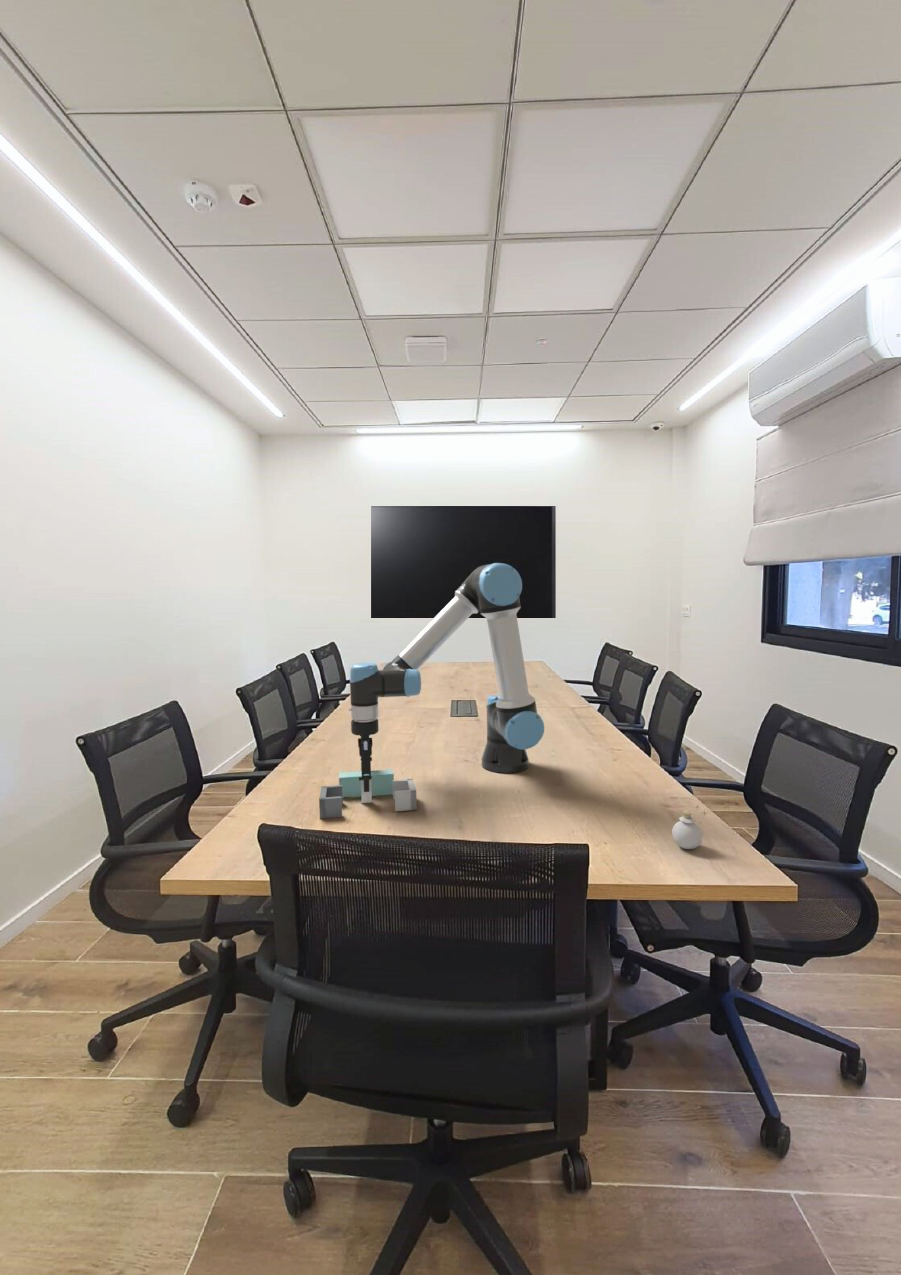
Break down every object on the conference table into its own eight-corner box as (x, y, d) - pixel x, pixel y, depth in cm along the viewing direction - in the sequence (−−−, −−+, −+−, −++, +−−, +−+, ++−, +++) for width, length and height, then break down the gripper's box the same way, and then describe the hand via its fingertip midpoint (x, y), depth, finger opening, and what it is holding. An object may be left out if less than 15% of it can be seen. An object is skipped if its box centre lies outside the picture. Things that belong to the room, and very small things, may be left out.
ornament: (668, 840, 122) (669, 798, 121) (702, 841, 122) (703, 798, 121) (676, 853, 116) (678, 809, 115) (712, 855, 116) (714, 810, 115)
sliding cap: (413, 796, 149) (412, 778, 149) (416, 809, 140) (416, 790, 140) (393, 797, 148) (392, 780, 148) (395, 811, 139) (394, 792, 139)
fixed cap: (342, 802, 146) (342, 784, 145) (342, 816, 137) (341, 797, 137) (322, 804, 145) (321, 786, 144) (319, 818, 136) (319, 799, 136)
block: (393, 789, 156) (392, 769, 155) (394, 794, 152) (393, 774, 151) (340, 793, 153) (339, 773, 152) (339, 799, 149) (338, 777, 149)
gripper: (351, 709, 162) (352, 778, 164) (350, 731, 137) (352, 812, 139) (376, 708, 163) (377, 776, 165) (380, 730, 139) (381, 809, 141)
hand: (366, 793), depth 152 cm, fingers open, 13 cm apart
